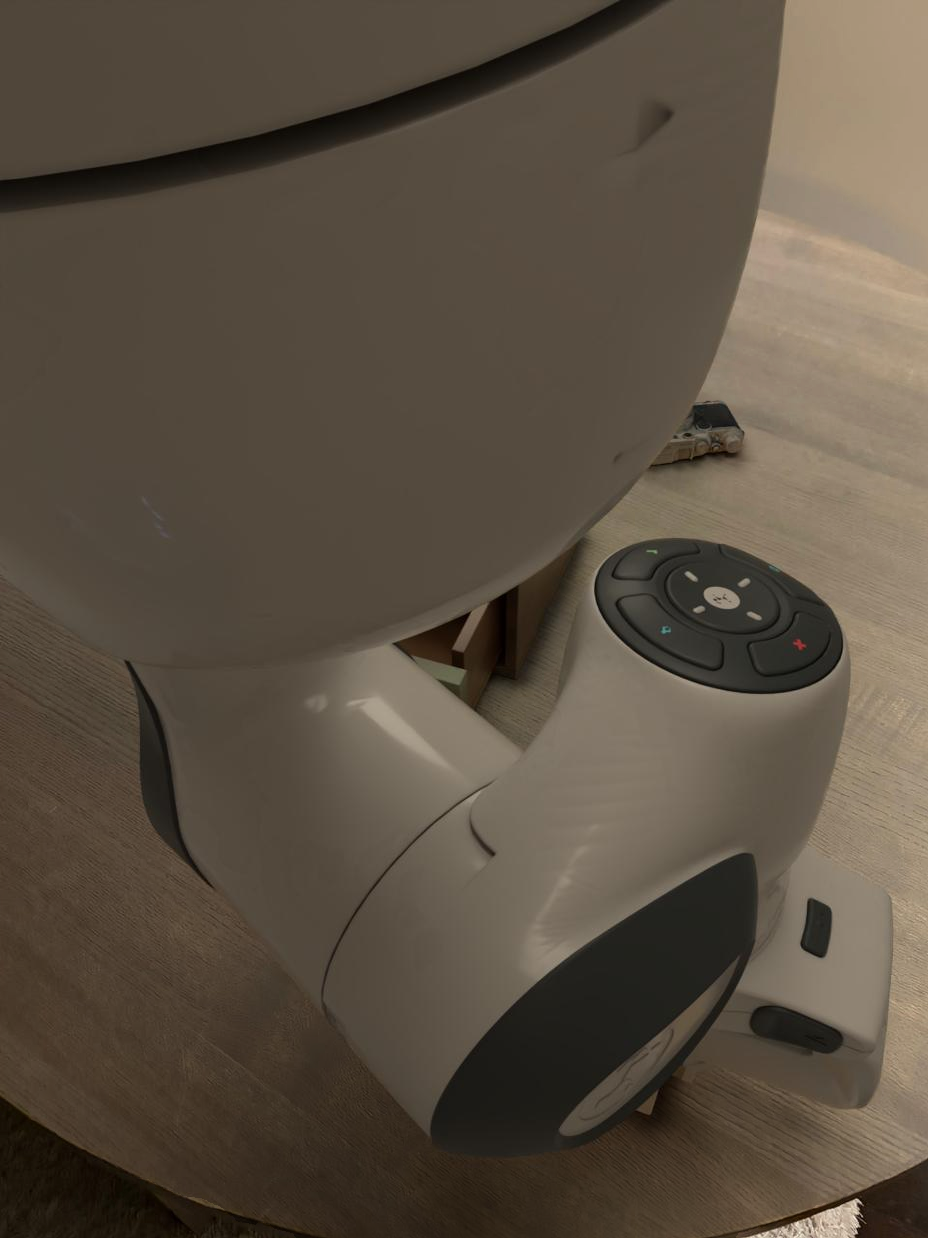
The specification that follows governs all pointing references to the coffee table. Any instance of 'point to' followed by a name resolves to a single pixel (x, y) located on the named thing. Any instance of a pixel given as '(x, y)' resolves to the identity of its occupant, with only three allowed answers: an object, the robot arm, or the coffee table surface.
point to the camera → (703, 433)
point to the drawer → (463, 649)
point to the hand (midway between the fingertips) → (620, 1041)
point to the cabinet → (528, 613)
